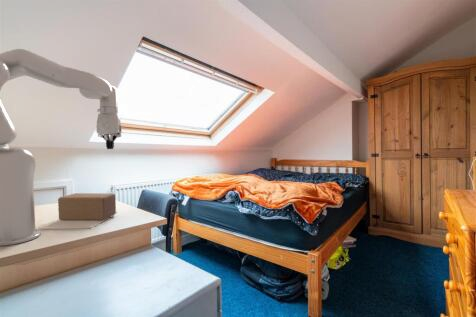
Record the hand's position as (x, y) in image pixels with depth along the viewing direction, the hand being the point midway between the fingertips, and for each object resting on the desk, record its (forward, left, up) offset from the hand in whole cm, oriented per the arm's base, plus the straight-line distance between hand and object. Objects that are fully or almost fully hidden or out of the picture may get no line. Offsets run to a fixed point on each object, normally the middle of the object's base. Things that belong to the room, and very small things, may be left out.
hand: (110, 148), depth 113 cm
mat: (-6, -14, -31) cm, 35 cm away
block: (+6, -13, -26) cm, 29 cm away
